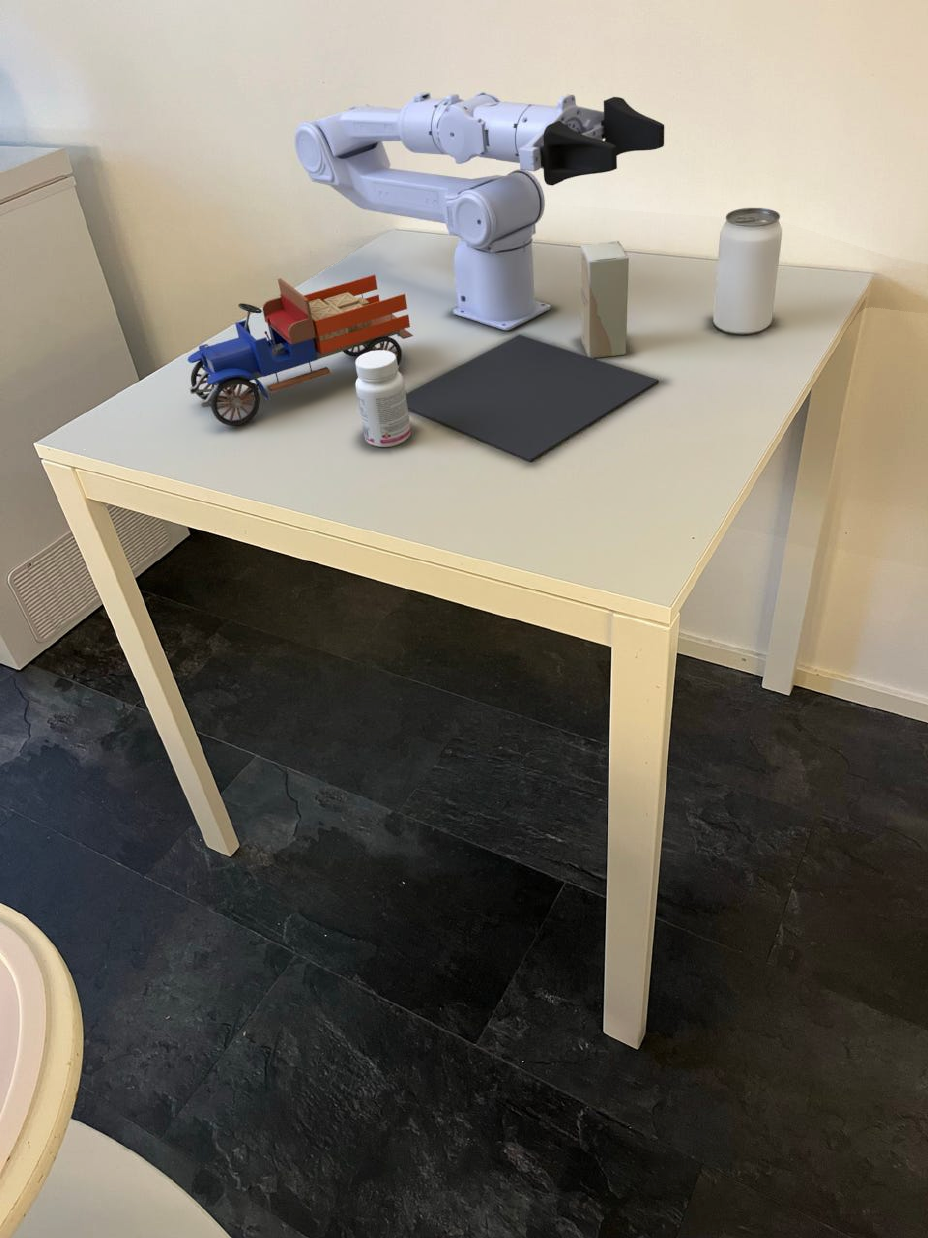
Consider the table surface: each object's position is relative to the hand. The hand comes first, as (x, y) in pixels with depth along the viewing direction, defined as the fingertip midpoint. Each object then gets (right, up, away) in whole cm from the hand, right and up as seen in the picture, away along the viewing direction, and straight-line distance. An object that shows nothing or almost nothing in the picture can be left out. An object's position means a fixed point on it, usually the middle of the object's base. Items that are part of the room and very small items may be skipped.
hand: (638, 146), depth 94 cm
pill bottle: (-25, -28, +4) cm, 37 cm away
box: (-1, -15, +15) cm, 22 cm away
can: (+15, -12, +17) cm, 26 cm away
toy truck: (-35, -20, +14) cm, 42 cm away
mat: (-11, -22, +8) cm, 26 cm away
